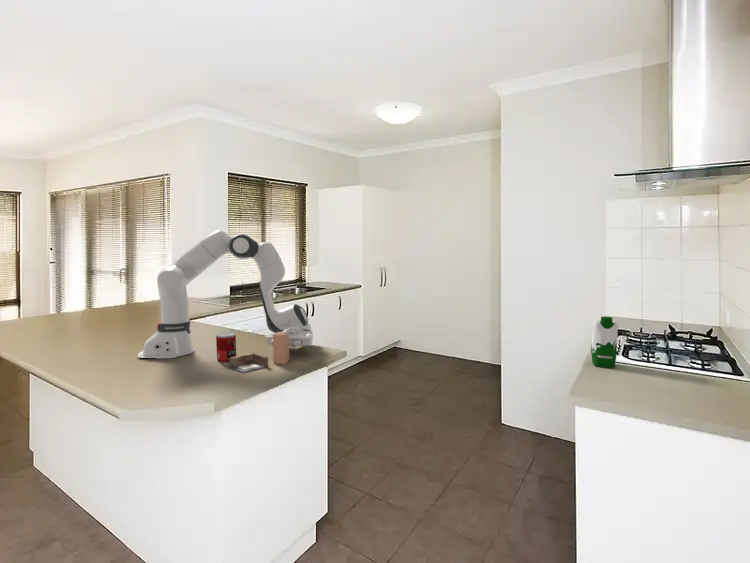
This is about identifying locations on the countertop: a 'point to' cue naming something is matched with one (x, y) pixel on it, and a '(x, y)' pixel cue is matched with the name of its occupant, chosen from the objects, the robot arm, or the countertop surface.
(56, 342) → the countertop surface
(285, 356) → the terracotta block
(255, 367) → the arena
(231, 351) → the canned food
